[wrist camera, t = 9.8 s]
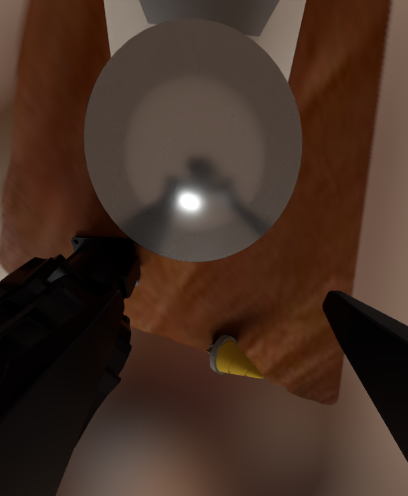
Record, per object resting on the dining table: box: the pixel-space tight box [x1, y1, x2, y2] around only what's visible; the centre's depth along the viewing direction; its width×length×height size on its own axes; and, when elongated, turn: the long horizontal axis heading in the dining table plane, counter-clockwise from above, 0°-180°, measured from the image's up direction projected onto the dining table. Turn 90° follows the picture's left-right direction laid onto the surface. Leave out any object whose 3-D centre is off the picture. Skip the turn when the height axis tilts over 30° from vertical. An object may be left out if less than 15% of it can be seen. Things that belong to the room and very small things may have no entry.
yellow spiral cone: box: [206, 335, 264, 379], centre depth 27 cm, size 5×5×10 cm
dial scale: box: [104, 0, 306, 82], centre depth 12 cm, size 12×16×7 cm
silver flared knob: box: [84, 19, 302, 262], centre depth 7 cm, size 6×6×5 cm
